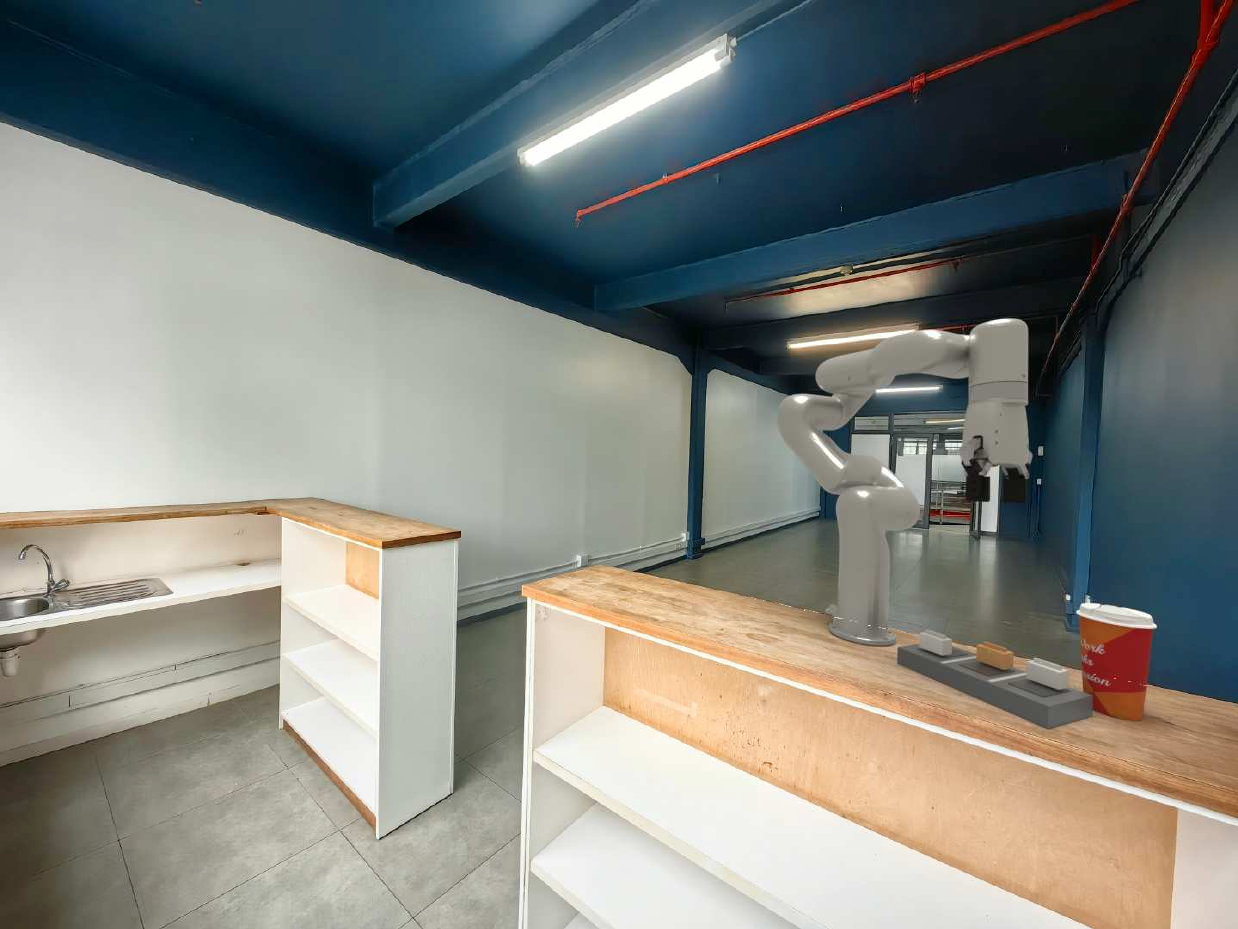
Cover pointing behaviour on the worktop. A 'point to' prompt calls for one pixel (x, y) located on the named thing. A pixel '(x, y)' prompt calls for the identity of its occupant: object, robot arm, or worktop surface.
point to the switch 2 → (994, 655)
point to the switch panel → (999, 686)
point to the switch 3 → (1047, 673)
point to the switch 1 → (935, 642)
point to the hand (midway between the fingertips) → (996, 502)
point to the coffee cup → (1115, 658)
